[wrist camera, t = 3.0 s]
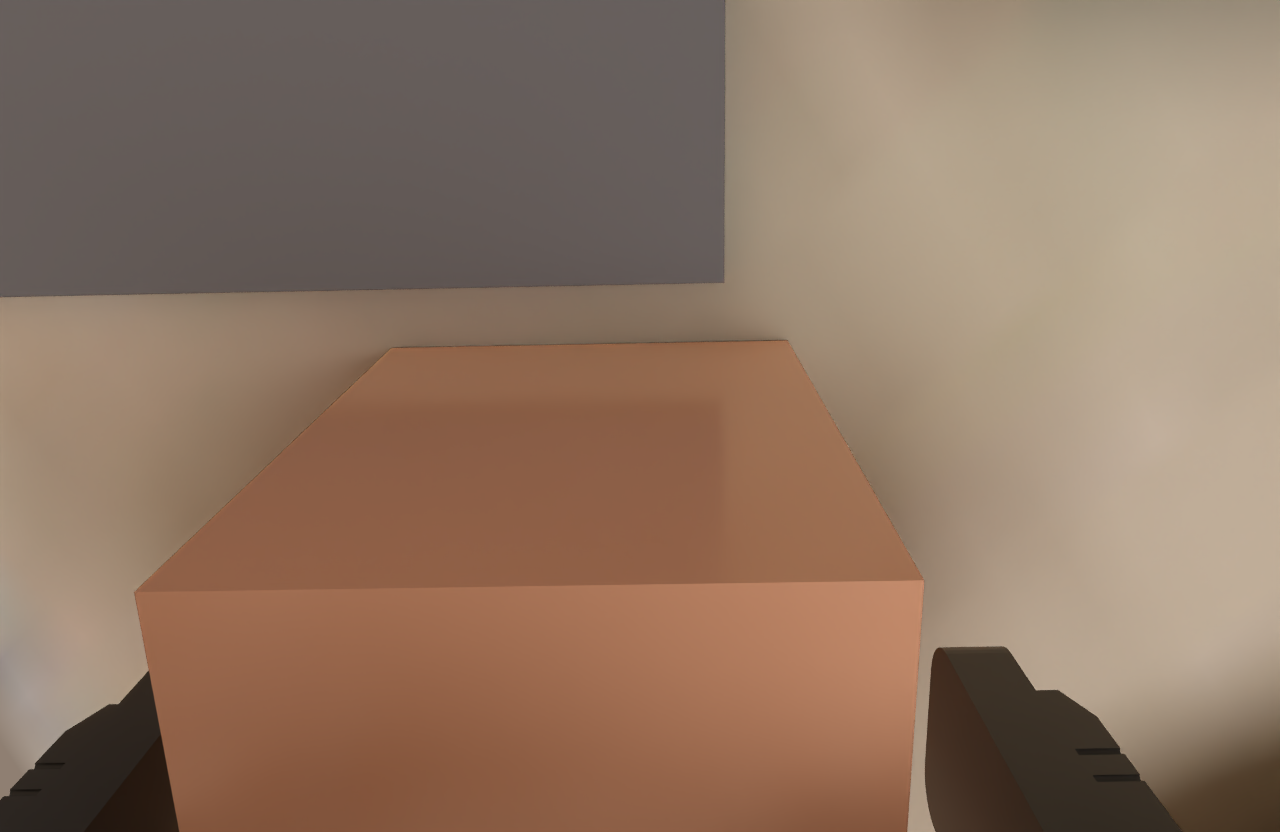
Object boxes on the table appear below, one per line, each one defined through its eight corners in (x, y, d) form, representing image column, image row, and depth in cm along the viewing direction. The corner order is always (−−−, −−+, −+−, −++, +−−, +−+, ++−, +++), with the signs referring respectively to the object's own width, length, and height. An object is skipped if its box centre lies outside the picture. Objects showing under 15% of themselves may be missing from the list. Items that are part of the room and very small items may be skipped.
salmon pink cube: (391, 348, 15) (133, 591, 8) (787, 340, 15) (924, 580, 8) (424, 693, 17) (243, 1168, 10) (780, 688, 17) (884, 1165, 9)
